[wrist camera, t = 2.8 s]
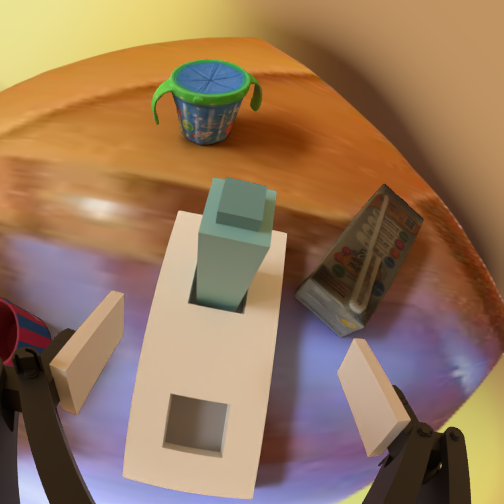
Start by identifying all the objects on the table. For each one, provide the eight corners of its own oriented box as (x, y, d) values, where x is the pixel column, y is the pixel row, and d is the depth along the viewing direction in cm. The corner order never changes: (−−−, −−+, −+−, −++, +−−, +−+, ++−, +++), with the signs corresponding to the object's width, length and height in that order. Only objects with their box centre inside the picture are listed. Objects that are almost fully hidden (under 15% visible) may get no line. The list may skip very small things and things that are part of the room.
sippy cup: (155, 160, 36) (150, 101, 27) (152, 115, 40) (150, 62, 31) (263, 151, 41) (280, 96, 32) (246, 109, 45) (257, 59, 36)
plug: (196, 304, 29) (198, 220, 14) (204, 269, 31) (215, 164, 16) (234, 312, 29) (275, 236, 15) (240, 276, 31) (281, 179, 17)
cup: (56, 322, 25) (26, 305, 19) (46, 408, 21) (12, 411, 15) (14, 309, 24) (-18, 290, 18) (3, 389, 20) (-32, 385, 14)
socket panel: (129, 468, 20) (122, 476, 17) (179, 224, 33) (178, 210, 30) (247, 488, 21) (252, 499, 19) (279, 245, 34) (287, 233, 31)
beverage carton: (287, 295, 32) (309, 273, 26) (363, 204, 40) (386, 177, 34) (338, 340, 31) (370, 329, 25) (401, 240, 39) (428, 217, 33)
